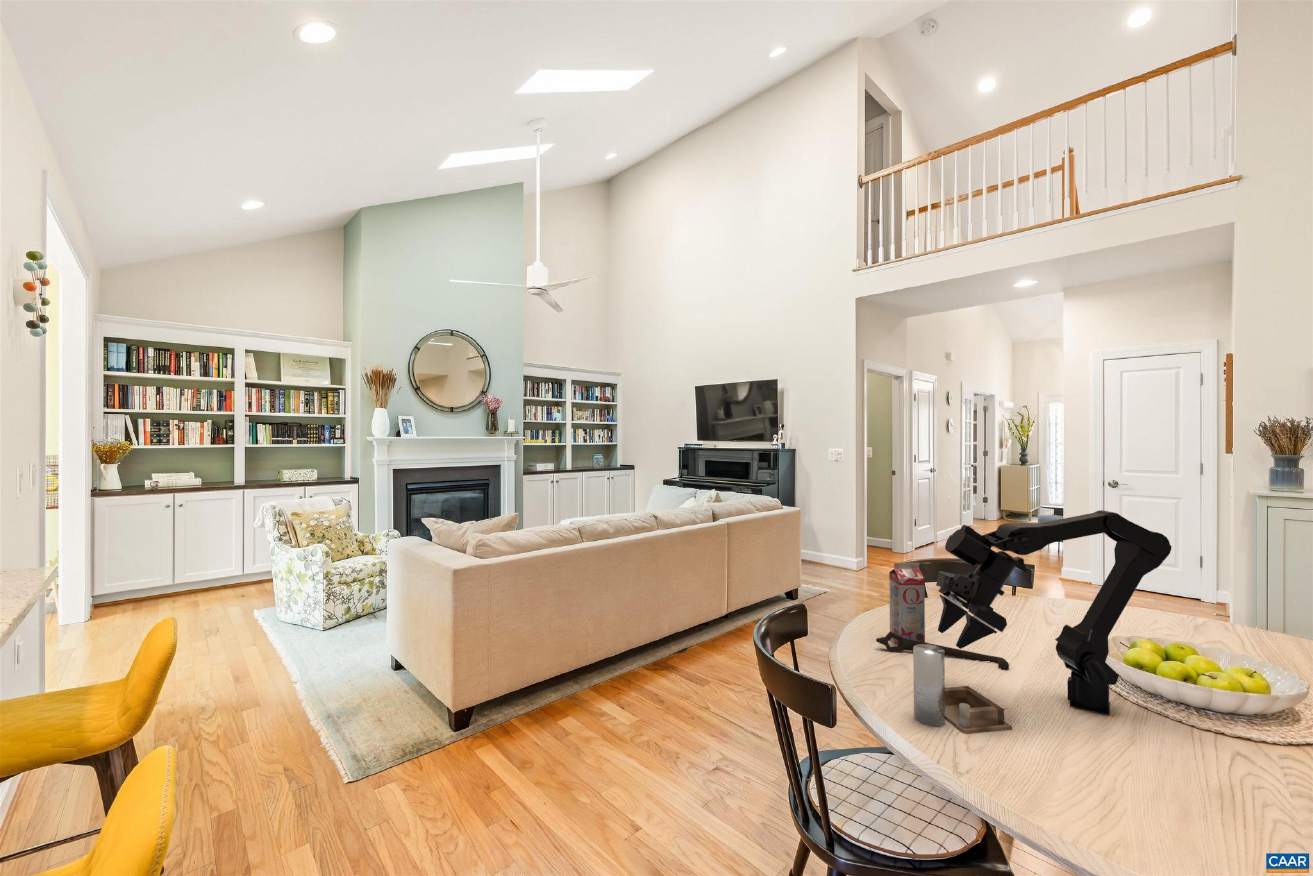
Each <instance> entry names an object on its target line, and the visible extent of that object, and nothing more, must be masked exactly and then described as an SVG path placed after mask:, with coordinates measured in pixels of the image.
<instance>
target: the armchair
mask: <svg viewBox="0 0 1313 876" xmlns="http://www.w3.org/2000/svg"><path fill="white" fill-rule="evenodd" d="M945 721H947V722H948V723H950V724H951V725H953V727H954V728H956V729H957V730H959V731H960V732H962V733H963V734H965V735H966V734H974V733H975V734H976V733H987V732H997V731H1009V730H1011V731H1012V730H1013V726H1012V725H1011V724H1009V723H1008V722H1007V721H1005V709H1004V708H1003V707H1002V706H1000V705H998V704H997V703H996V702H994V701H993V700H991V699H990V698H987V697H986V696H984V695H982V694H981V693H980V692H978V691H977V690H975V689H974V688H972V687H970V686H968V685H964V686H951V687H948V686H947V687H945Z"/></svg>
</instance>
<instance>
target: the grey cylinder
mask: <svg viewBox="0 0 1313 876" xmlns="http://www.w3.org/2000/svg"><path fill="white" fill-rule="evenodd" d="M912 652H913V659H912V660H913V719H914V720H915V721H916V722H918V723H919V724H922V725H924V726H927V727H933V728H938V727H943V726H944V725H945V724H946V719H945V688H946V687H945V686H946V685H945V684H946V679H945V678H946V676H945V674H946V673H945V672H946V669H945V666H946V664H945V662H946V661H945V658H946V656H945V651H944V650H943V649H942V648H940V647H937V646H934V645H928V644H918V645H915V646H914V647H913V651H912Z"/></svg>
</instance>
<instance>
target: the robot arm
mask: <svg viewBox="0 0 1313 876" xmlns="http://www.w3.org/2000/svg"><path fill="white" fill-rule="evenodd" d="M1099 534H1105V535H1106V536H1107V537H1108V538H1110V539H1111V540H1112V541H1114V542H1116V543H1115V545H1114V548H1113V549H1114V565H1113V566H1112V568H1111V570H1110V572H1109V573H1108V575H1107V577H1106V579H1105V580H1104V582H1103V584H1102V585H1101V588H1100V589H1099V591H1098V593H1096V596H1095V597H1094V600H1093V601H1092V603H1091V604H1090V605H1089V608H1088V609H1087V611H1086V613H1085V615H1084V617H1083V618H1082V620H1081V621H1080V622H1079V623H1078V624H1076V625H1074V626H1070V625H1069V624H1064V625H1063V627H1062V629H1061V632H1060V634H1059V636H1058V637H1056V638H1055V639H1054V640H1055V641H1056V645H1055V650H1056V651H1055V652H1056V654H1057V656H1058V657H1059V659H1060V660H1061V661H1062V662H1063V665H1064V666H1065V668H1066V669H1069V671H1071V673H1070V676H1068V677H1067V680H1066V681H1067V684H1066V685H1067V700H1068V701H1069V706H1070V707H1071V708H1075V709H1079V710H1084V711H1088V712H1092V713H1097V714H1099V715H1100V714H1101V715H1105V716H1110V715H1111V702H1110V686H1115V685H1116V684H1117V682H1118V679H1119V678H1120V677H1119V676H1120V675H1119V674H1118V673H1117V672H1116V671H1115V670H1114V669H1113V668H1112V667H1111V666H1110V665H1109V664H1107V658H1108V657H1109V653H1110V651H1109V636H1110V634H1111V633H1112V630H1113V629H1114V627H1115V626H1116V624H1117V622H1118V621H1119V618H1120V616H1121V615H1122V613H1124V610H1125V608H1126V607H1127V604H1128V603H1129V602H1130V600H1131V598H1132V596H1133V594H1134V593H1135V591H1136V589H1137V588H1138V585H1140V582H1142V581H1141V580H1142V579H1143V577H1144V576H1145V575H1147V574H1149V573H1150V572H1152V571H1154V570H1156V569H1158V568H1159V567H1160V566H1161V565H1162V564H1163V563H1164V562H1165V560H1166V559H1167V558H1168V557H1169V555H1171V551H1172V547H1173V546H1172V545H1171V543H1170V539H1168V537H1167V536H1166V535H1164V534H1163V533H1161V532H1157V531H1151V530H1149V529H1147V528H1145V527H1144V526H1141V525H1139V524H1137V523H1134V522H1132V521H1130V520H1129V519H1127V518H1125V517H1124V516H1122V515H1121V514H1119V513H1117V512H1114V511H1109V510H1097V511H1094V512H1091V513H1086V514H1085V513H1084V514H1080V515H1073V516H1070V517H1064V518H1061V519H1060V518H1059V519H1054V520H1049V521H1045V522H1035V523H1034V522H1007V523H1003V524H1000V525H998V527H997V529H996V530H993V531H991V532H988V533H984V534H980V533H979V532H978V531H976V530H975V529H974V528H973V527H971V526H969V525H967V524H962V526H961V527H960V528H959V529H957V530H955V531H954V532H953V533H952V534H950V535H949V537H948V538H947V540H946V542H945V546H944V548H945V550H946V552H948V553H949V554H951V555H952V556H955V558H956V559H958V560H960V561H962V562H964V563H966V564H967V565H969V566H976V565H978V566H977V567H976V569H975V570H974V572H972V571H968V572H967V573H966V574H960V573H950V572H946V571H941V570H939V571H938V575H937V579H936V584H935V586H937V587H939V589H938V592H939V593H940V594H939V597H940V599H941V603H942V605H943V606H942V611H941V614H940V619H939V624H938V627H937V631H938V632H940V633H941V634H943V633H945V632H947V631H948V630H949V629H950V628H952V627H953V626H954V625H955V624H956V623H957V622H959V621H960V620H961V619H962V618H964V617H965V619H966V623H965V625H964V627H963V629H962V631H961V633H960V634H959V636H958V639H957V641H956V643H955V646H956V647H957V649H958V648H959V649H960V650H963V648H966V647H967V646H969V645H971V644H973V643H975V642H977V641H980V640H981V639H983V638H985V637H988V636H990V635H993V634H997V633H998V631H999V632H1000V633H1003V632H1004V630H1005V629H1007V628H1006V627H1007V626H1008V622H1007V618H1006V617H1004V616H1002V615H1001V614H1000V613H998V612H997V611H994V608H993V607H992V606H991V605H992V604H993V602H994V601H995V599H996V598H997V596H998V595H1000V596H1001V597H1003V596H1004V594H1005V591H1004V590H1002V589H1003V587H1004V586H1005V584H1006V582H1007V581H1008V580H1009V578H1010V577H1011V576H1012V573H1013V572H1015V571H1014V570H1018V571H1021V572H1023V573H1028V569H1027V566H1026V565H1025V559H1024V558H1022V557H1020V556H1027V555H1029V554H1033V553H1036V552H1038V551H1040V550H1043V549H1044V548H1046V547H1047V546H1048V545H1051V544H1054V543H1057V542H1063V541H1068V540H1073V539H1079V538H1083V537H1084V538H1085V537H1089V536H1095V535H1099ZM992 548H995V549H998V550H1000V551H995V550H993V549H992ZM1008 552H1010V553H1013V554H1016V555H1018V556H1015V557H1014V556H1012V555H1010V554H1009V553H1008ZM964 608H965V609H964ZM967 610H968V611H967Z"/></svg>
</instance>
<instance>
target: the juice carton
mask: <svg viewBox="0 0 1313 876" xmlns="http://www.w3.org/2000/svg"><path fill="white" fill-rule="evenodd" d="M888 577H889V580H888V581H889V583H888V584H889V632H890V631H891V632H893V633H895V634H898V635H900V636H902V637H903V638H905V639H910V640H915V641H921V642H925V643H926V617H925V615H926V613H925V612H926V609H925V606H926V603H925V602H926V601H925V597H926V596H925V594H926V593H925V592H926V591H925V589H926V588H925V576H924V575H923V573H922V571H921V569H920V562H893V569H892V570H890V571H889V575H888ZM889 641H891V642H892V643H893V645H895V646H896V645H897V646H898V640H896V639H894V638H891V639H890V640H889Z"/></svg>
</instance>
